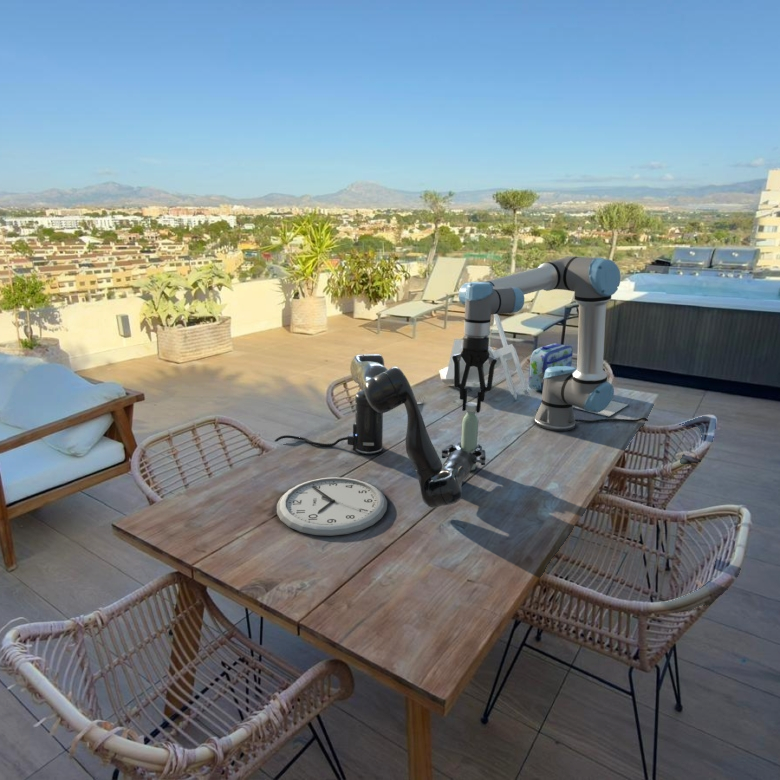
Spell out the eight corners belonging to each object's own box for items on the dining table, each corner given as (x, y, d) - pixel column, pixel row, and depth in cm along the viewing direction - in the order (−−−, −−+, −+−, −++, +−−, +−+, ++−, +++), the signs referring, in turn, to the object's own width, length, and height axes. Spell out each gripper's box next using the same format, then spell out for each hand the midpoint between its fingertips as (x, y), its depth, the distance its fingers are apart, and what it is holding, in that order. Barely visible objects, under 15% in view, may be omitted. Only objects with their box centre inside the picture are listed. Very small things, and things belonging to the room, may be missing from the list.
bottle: (468, 462, 170) (472, 402, 164) (478, 468, 166) (483, 407, 160) (456, 466, 168) (460, 405, 161) (466, 471, 164) (471, 409, 158)
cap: (476, 412, 159) (476, 406, 158) (463, 411, 160) (464, 405, 160) (478, 408, 162) (479, 403, 162) (466, 407, 164) (466, 401, 163)
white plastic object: (461, 429, 252) (437, 405, 227) (444, 352, 274) (420, 323, 250) (535, 404, 240) (518, 377, 215) (510, 326, 262) (492, 293, 237)
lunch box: (544, 395, 239) (549, 351, 233) (524, 390, 247) (528, 347, 240) (571, 384, 257) (577, 343, 251) (552, 380, 264) (556, 339, 258)
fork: (408, 411, 216) (408, 407, 215) (419, 400, 230) (419, 396, 229) (414, 412, 215) (414, 407, 214) (425, 401, 229) (425, 396, 229)
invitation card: (608, 416, 214) (573, 407, 224) (608, 416, 214) (573, 408, 224) (628, 404, 229) (594, 396, 238) (628, 405, 229) (594, 397, 238)
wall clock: (392, 527, 129) (268, 531, 127) (391, 533, 130) (269, 537, 127) (383, 473, 158) (282, 475, 155) (383, 478, 158) (282, 480, 156)
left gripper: (482, 459, 149) (493, 438, 164) (434, 451, 154) (449, 431, 169) (480, 483, 151) (492, 460, 166) (433, 474, 156) (448, 452, 171)
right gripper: (506, 335, 155) (500, 409, 162) (451, 331, 160) (447, 403, 167) (503, 340, 148) (497, 417, 155) (445, 335, 153) (442, 410, 160)
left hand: (470, 445), depth 167 cm, fingers closed on bottle, 5 cm apart
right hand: (471, 410), depth 161 cm, fingers closed on cap, 4 cm apart
